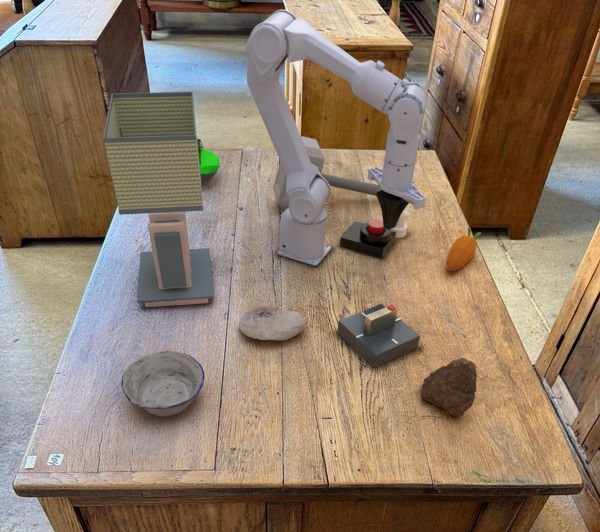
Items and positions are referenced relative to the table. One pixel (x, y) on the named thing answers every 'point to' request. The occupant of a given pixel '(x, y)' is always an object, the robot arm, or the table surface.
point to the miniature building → (207, 163)
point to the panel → (378, 338)
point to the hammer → (318, 160)
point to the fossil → (272, 323)
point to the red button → (375, 226)
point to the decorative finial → (401, 225)
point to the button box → (367, 240)
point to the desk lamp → (160, 190)
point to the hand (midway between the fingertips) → (389, 227)
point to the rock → (452, 386)
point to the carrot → (462, 251)
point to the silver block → (380, 320)
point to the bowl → (163, 382)
